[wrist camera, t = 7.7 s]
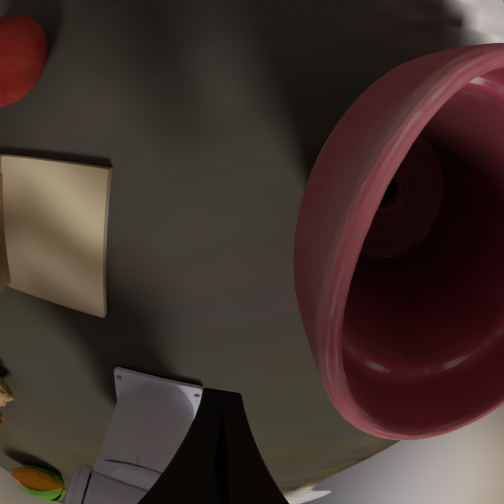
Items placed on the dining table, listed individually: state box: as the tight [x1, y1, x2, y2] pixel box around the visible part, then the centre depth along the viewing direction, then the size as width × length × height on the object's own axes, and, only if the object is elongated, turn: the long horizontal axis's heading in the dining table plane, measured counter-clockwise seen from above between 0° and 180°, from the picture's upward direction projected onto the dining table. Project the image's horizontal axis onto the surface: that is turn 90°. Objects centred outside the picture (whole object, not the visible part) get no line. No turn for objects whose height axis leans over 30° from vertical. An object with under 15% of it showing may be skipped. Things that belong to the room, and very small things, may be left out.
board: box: [0, 154, 113, 318], centre depth 18 cm, size 11×19×1 cm, turn 77°
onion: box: [0, 15, 48, 108], centre depth 10 cm, size 6×6×8 cm
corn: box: [12, 464, 66, 501], centre depth 36 cm, size 7×8×20 cm
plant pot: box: [294, 43, 504, 440], centre depth 12 cm, size 14×14×13 cm
